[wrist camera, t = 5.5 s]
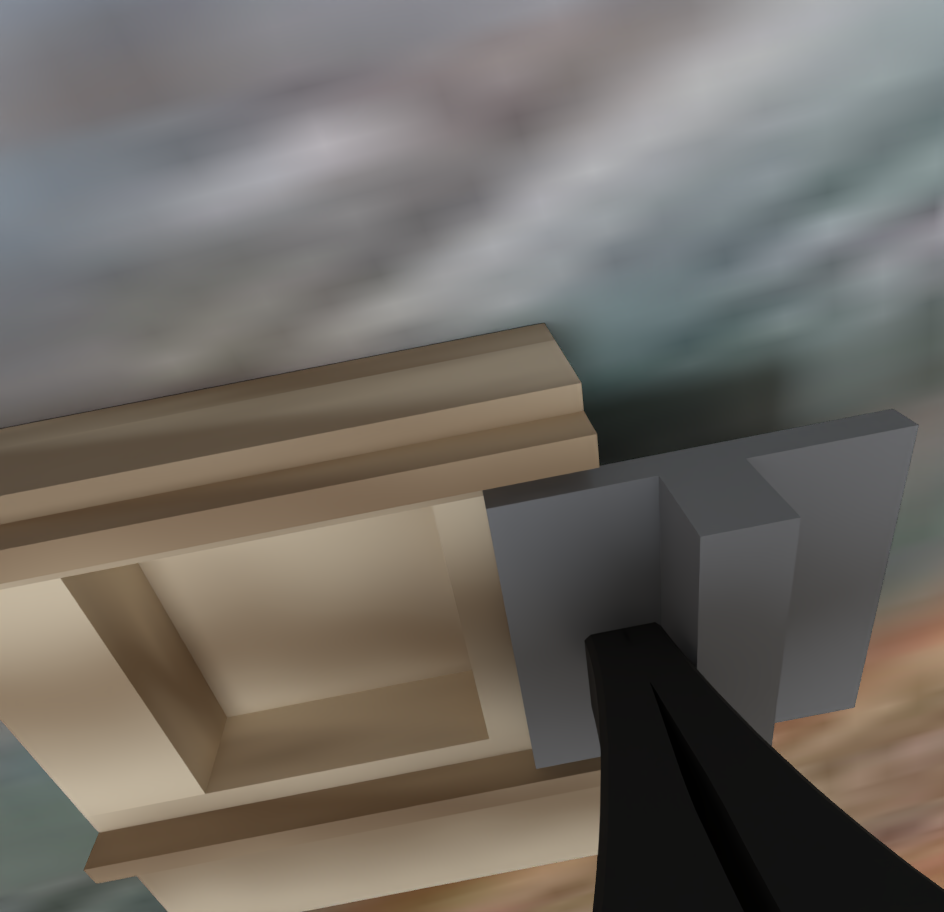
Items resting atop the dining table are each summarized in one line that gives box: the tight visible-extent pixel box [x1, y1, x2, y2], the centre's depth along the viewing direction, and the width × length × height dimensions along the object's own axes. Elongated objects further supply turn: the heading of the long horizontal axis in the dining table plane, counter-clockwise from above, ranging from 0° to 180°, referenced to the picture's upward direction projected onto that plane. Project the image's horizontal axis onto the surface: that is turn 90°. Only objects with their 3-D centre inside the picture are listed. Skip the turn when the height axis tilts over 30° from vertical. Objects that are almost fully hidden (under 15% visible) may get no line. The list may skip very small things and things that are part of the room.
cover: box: [482, 409, 919, 769], centre depth 11 cm, size 7×7×2 cm
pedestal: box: [0, 323, 601, 912], centre depth 14 cm, size 14×12×4 cm
